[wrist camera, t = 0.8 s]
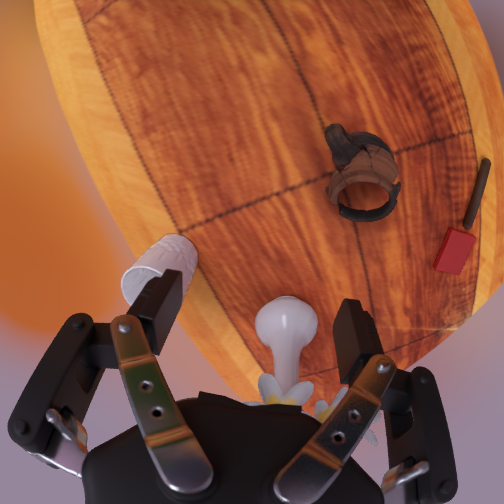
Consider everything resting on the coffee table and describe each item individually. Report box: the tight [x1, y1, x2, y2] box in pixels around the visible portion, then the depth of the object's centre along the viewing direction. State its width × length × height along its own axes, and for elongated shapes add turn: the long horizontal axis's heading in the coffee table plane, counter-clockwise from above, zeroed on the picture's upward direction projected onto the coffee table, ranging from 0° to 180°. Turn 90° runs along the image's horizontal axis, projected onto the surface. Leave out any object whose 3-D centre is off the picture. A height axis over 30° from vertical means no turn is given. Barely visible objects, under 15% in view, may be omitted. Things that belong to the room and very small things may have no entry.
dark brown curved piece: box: [325, 124, 401, 222], centre depth 28 cm, size 12×9×8 cm
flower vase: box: [243, 296, 381, 446], centre depth 30 cm, size 13×18×25 cm
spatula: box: [433, 158, 491, 275], centre depth 30 cm, size 19×6×2 cm, turn 172°
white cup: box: [121, 234, 198, 311], centre depth 34 cm, size 8×8×10 cm
